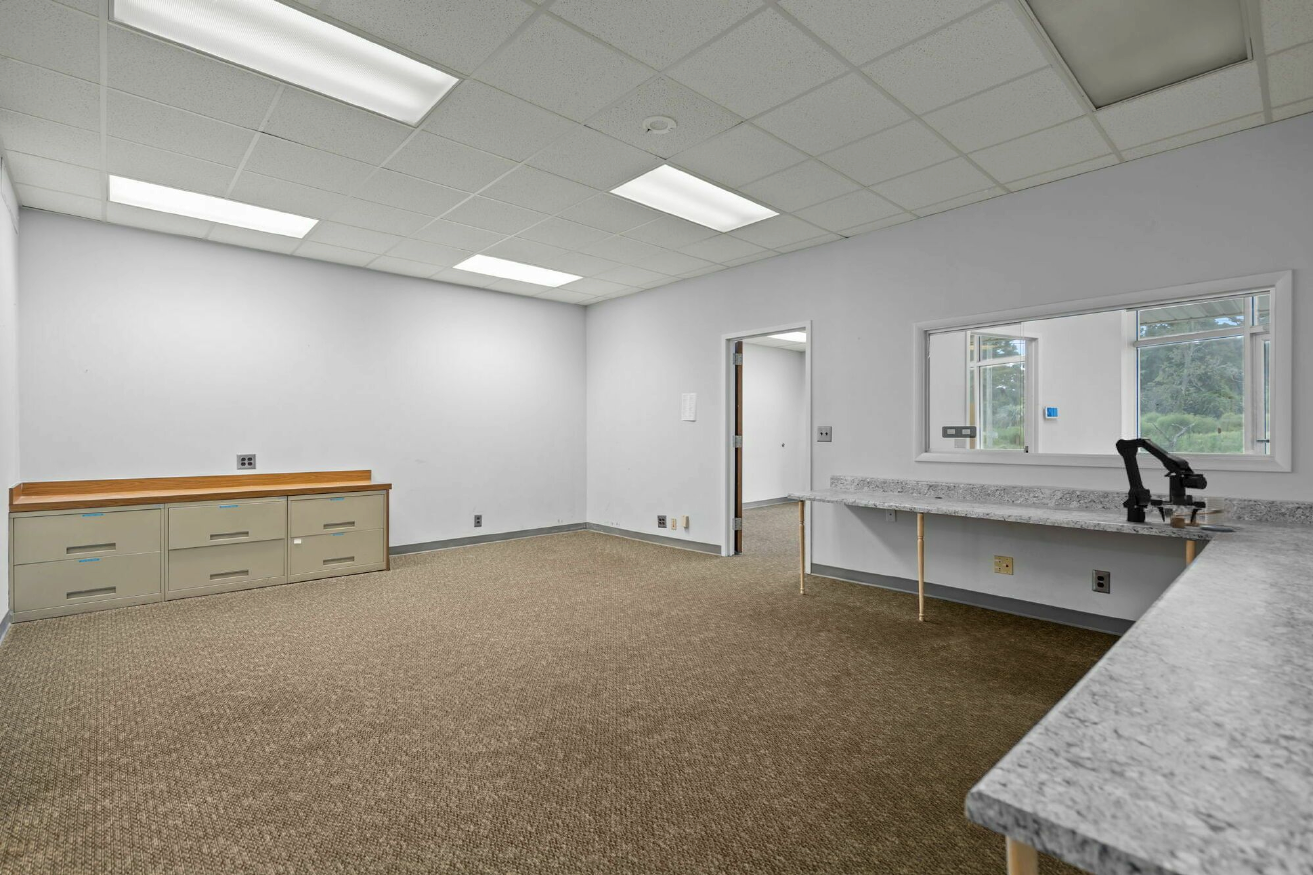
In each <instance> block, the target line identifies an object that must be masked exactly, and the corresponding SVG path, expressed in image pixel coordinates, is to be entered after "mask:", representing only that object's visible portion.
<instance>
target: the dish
mask: <svg viewBox="0 0 1313 875" xmlns="http://www.w3.org/2000/svg"><path fill="white" fill-rule="evenodd" d="M1199 528H1201V529H1202V530H1205V531H1214V532H1230V531H1234V529H1235V528H1234V527H1231V526H1226V525H1208V524H1206V525H1200V526H1199Z"/></svg>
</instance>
